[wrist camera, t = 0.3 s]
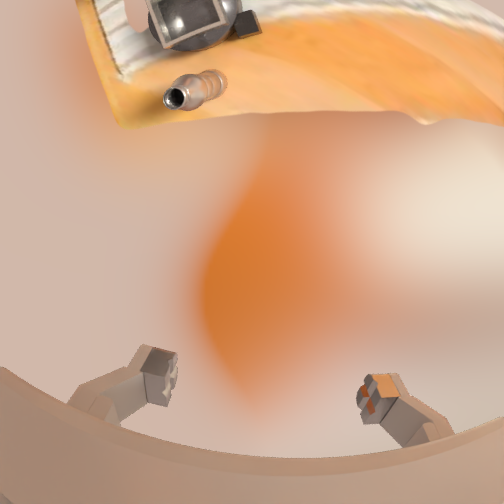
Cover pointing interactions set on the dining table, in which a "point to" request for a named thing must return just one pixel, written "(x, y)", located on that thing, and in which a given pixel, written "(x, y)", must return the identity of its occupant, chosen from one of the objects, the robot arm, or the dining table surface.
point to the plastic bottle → (195, 90)
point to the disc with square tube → (199, 22)
